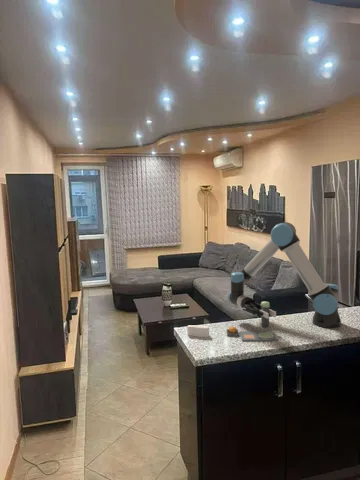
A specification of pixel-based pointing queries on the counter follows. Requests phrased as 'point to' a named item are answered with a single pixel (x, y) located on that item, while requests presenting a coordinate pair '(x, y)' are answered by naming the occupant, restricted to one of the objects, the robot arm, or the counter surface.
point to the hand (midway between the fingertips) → (271, 315)
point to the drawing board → (258, 336)
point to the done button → (232, 329)
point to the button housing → (232, 333)
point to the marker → (264, 320)
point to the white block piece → (198, 331)
